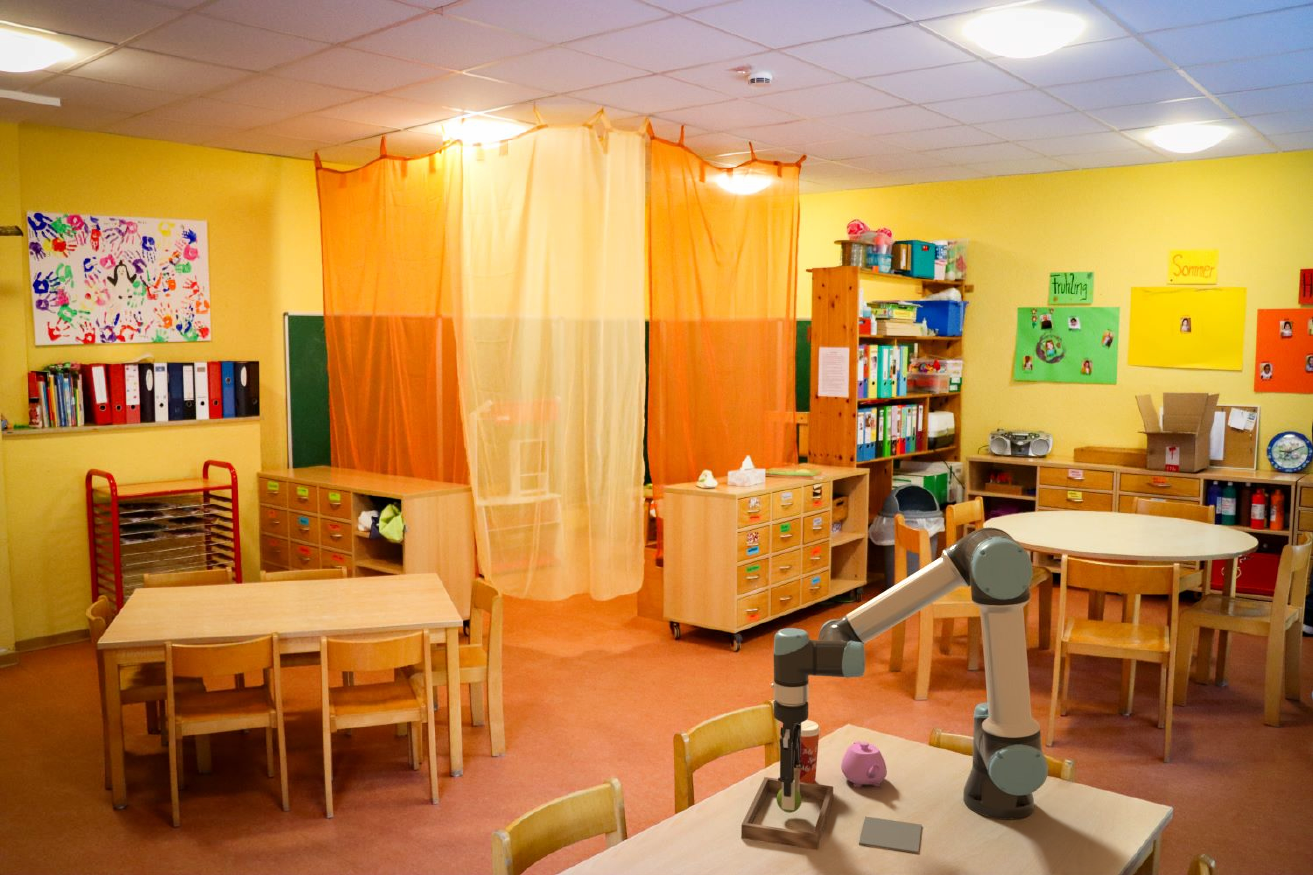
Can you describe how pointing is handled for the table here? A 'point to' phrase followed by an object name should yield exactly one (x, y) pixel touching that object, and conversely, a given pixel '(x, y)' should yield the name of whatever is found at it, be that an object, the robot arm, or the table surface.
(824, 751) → the table surface
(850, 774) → the pink rounded piece
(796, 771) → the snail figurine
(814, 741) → the paper cup
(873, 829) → the slate mat
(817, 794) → the brown wooden frame
